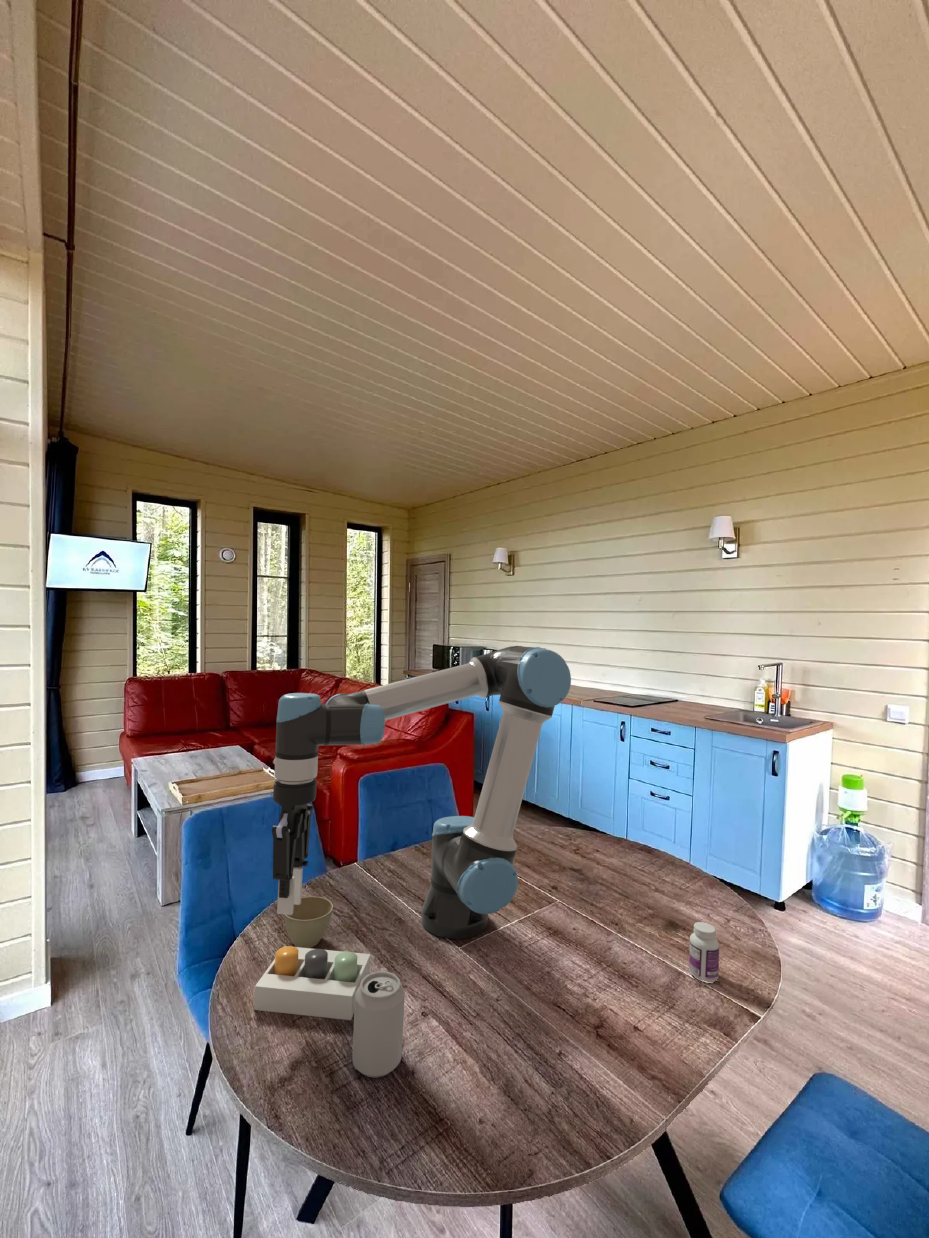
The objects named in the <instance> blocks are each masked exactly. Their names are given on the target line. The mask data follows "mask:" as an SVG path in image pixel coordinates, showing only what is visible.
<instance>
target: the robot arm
mask: <svg viewBox="0 0 929 1238" xmlns="http://www.w3.org/2000/svg"><path fill="white" fill-rule="evenodd" d="M571 675H572V674H571V670H570V668H569V666H568V664H567V662H566V660H565V659H564V658H563V657H562V656H561V655H560V654H559V653H558V652H556V651H553V650H551V649H547V648H543V647H539V646H536V647H535V646H522V645H511V646H508V647H504V648H501V649H497V650H494V651H491V652H487V653H484V654H481V655H479V656H477V655H476V656H474V657H471V658H470V660H469V662H467V663H465V664H460V665H457V666H453V667H449V668H445V669H441V670H437V671H433V672H430V673H426V674H421V675H418V676H414V677H410V678H406V679H402V680H398V681H394V682H391V683H387V684H384V685H379V686H375V687H371V688H367V689H363V690H361V691H356V692H351V693H337V694H335V695H333V696H331V697H330V698H329V699H328V700H327V701H326V703H325V704H322V701H321V696H320V695H319V694H316V693H310V692H308V693H307V692H293V693H287V694H283V695H281V697H280V698H279V699H278V704H277V705H278V706H277V715H276V727H275V728H276V730H275V733H276V734H275V753H274V754H275V755H274V756H275V757H274V759H273V760H272V764H274V774H273V775H274V778H275V781H274V782H273V790H272V791H273V792H272V800H273V802H274V803H275V804H277V805H279V806H280V807H281V809H280V813H279V817H278V825H272V828H271V834H272V835H271V836H272V880H278V881H277V882H278V883H277V884H278V885H277V888H278V889H277V906H276V907H277V908H276V915H283V914H285V915H292V914H293V908H294V904H296V905H300V904H301V898H302V890H303V886H302V885H303V871H304V867H307V866H308V865H309V861H308V860H305V859H308V857H309V848H310V834H311V821H312V814H313V809H314V805H313V804H310V803H312V802H314V801H315V800H316V798H317V783H318V782H317V779H316V778H317V776H318V770H319V769H318V765H319V764H318V763H319V761H318V760H319V747H320V746H323V747H324V746H356V745H357V746H358V745H359V746H361V745H362V746H367V745H373V744H374V745H375V744H379V743H381V742H382V741H383V738H384V735H385V730H386V729H385V727H386V721H389V720H393V719H395V718H400V717H404V716H407V715H410V714H414V713H417V712H421V711H424V710H429V709H432V708H435V707H440V706H442V705H447V704H449V703H454V702H458V701H460V700H464V699H467V698H471V697H475V696H478V697H480V698H483V699H484V698H488V697H492V696H499V698H498V699H499V700H498V704H499V705H500V708H501V709H502V714H501V719H500V722H499V726H498V730H497V733H496V736H495V740H494V744H493V748H492V752H491V756H490V759H489V762H488V766H487V770H486V774H485V778H484V781H483V785H482V789H481V792H480V795H479V798H478V803H477V807H476V809H475V814H474V816H469V815H453V816H452V815H451V816H446V817H442V818H439V819H437V820H436V821H435V822H434V824H433V828H432V829H433V830H432V834H431V837H432V840H431V841H432V842H431V843H432V844H431V864H430V865H431V867H430V868H431V870H430V886H429V889H428V891H427V894H426V896H425V900H424V902H423V905H422V907H421V918H420V919H421V924H422V926H423V928H424V929H426V931H427V932H429V933H431V934H432V935H434V936H437V937H439V938H445V939H454V940H458V939H459V940H460V939H462V940H463V939H469V938H472V937H476V936H478V935H479V934H481V933H482V932H484V931H485V930H486V928H487V926H488V920H489V919H488V918H489V917H488V916H489V915H490V914H494V913H497V912H499V911H500V910H501V909H502V908H505V907H506V906H507V905H508V904H509V903H511V901H512V900H513V898H514V897H515V895H516V893H517V891H518V888H519V887H518V886H519V876H518V872H517V869H516V868H515V866H514V861H515V859H516V858H515V857H516V852H517V849H518V845H517V842H516V841H515V839H514V836H513V834H514V831H515V827H516V824H517V820H518V816H519V812H520V809H521V806H522V805H521V804H522V801H523V798H524V794H525V791H526V788H527V783H528V779H529V776H530V771H531V768H532V765H533V761H534V760H533V759H534V757H535V753H536V749H537V746H538V742H539V738H540V733H541V730H542V726H543V724H544V723H545V722H547V721H548V720H550V719H552V717H553V713H554V709H555V706H557V705H560V703H561V702H563V701H564V700H565V699H566V698H567V695H568V694H569V692H570V689H571V683H572V676H571Z"/></svg>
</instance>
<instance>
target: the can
mask: <svg viewBox="0 0 929 1238" xmlns="http://www.w3.org/2000/svg"><path fill="white" fill-rule="evenodd" d="M404 989H405V988H404V987H403V986H402V981H401V979H400V978H399V977H398V976H397V975H396V974H394V973H393V972H389V971H374V972H371V973H369V975H367V976H365V977H364V978H363V979H362V981H361V983H360V987H359V988H358V989H357V991H356V994H355V1011H354V1014H353V1017H354V1018H353V1033H352V1034H353V1036H352V1037H353V1038H352V1054H351V1055H352V1058H351V1059H352V1064H353V1066H354V1068H355V1069H356V1070H357V1071H358V1072H359V1073H361V1074H362V1075H363V1076H366V1077H368V1078H374V1079H375V1078H381V1077H384V1076H387V1075H389V1074H390V1073H391V1072H392V1071H393V1070H394V1069H396V1068H397V1067H398V1065H399V1064H400V1063H401V1060H402V1057H403V1056H402V1055H403V1037H404V1036H403V1035H404V1016H405V1015H404V1013H405V996H406V995H405V990H404Z"/></svg>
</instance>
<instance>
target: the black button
mask: <svg viewBox="0 0 929 1238" xmlns="http://www.w3.org/2000/svg"><path fill="white" fill-rule="evenodd" d="M313 949H314V950H311V951H309V952H307V953H306V955H305V967H304V977H305V978H314V979H324V980H325V978H326V976H327V961H328V953H327V951H325V950H326V949H322V948H313Z"/></svg>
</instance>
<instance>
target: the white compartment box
mask: <svg viewBox="0 0 929 1238" xmlns="http://www.w3.org/2000/svg"><path fill="white" fill-rule="evenodd" d="M286 946H287V945H284V946H283V947H286ZM295 947H296V946H295ZM296 948H297V949H298V951H299V952H298V971H297V973H296V974H295V976H285V975H275V974H274V973H275V958H274V959H273V961H272V962H271V964H269V966H268V968H267V969H266V970H265V971H264V973H263V974H262V976H261V977H260V979H259V980H258V981H257V983H256V984H255V987H254V1001H253V1003H254V1004H253V1010H254V1011H260V1012H261V1011H262V1012H268V1013H270V1012H271V1013H279V1014H280V1013H281V1014H288V1015H289V1014H290V1015H299V1016H307V1017H317V1018H326V1019H335V1020H344V1021H352V1019H353V1017H354V1011H355V994H356V991H357V989H358V988H359V987H360V983H361V981H362V979H363V978H364V977H365V976H367V975H369V974H371V973H370V969H371V968H370V967H371V954H370V953H363V952H362V953H361V952H354V953H355V954H356V955H357V978H356V982H355V983H354V982H344V981H334V964H335V957H336V956H337V955H338V954H340V953H342V952H343V951H341V950H332V949H331V950H329V949H324V950H325V951H327V953H328V961H327V976H326V978H325V980H324V979H314V978H305V977H304V967H305V955H306V953H307V952H309V951H311V950H314V949H315V948H301V947H296Z"/></svg>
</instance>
